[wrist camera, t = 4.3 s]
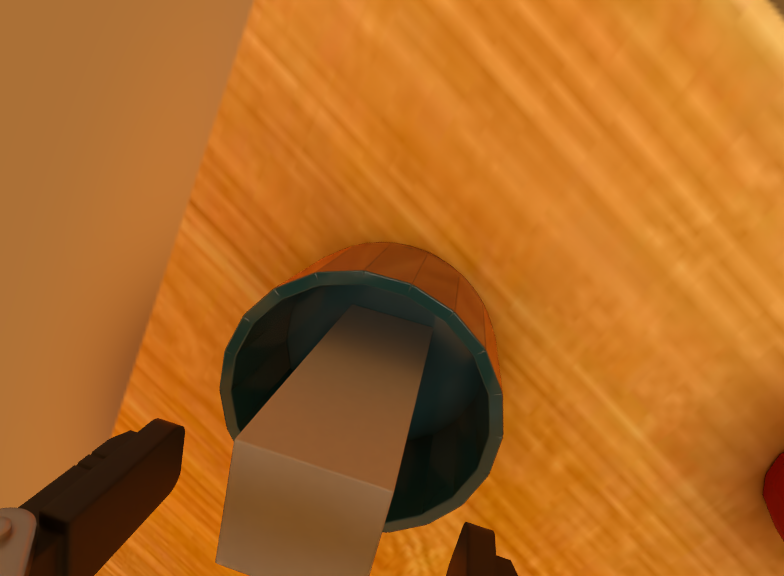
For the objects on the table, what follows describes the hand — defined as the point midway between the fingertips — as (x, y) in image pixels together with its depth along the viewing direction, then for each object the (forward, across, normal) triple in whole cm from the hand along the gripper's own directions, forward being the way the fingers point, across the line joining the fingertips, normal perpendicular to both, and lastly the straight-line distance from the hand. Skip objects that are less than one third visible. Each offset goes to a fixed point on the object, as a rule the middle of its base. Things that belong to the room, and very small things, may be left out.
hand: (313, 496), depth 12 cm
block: (+10, 0, 0) cm, 10 cm away
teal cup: (+10, 0, 0) cm, 11 cm away
